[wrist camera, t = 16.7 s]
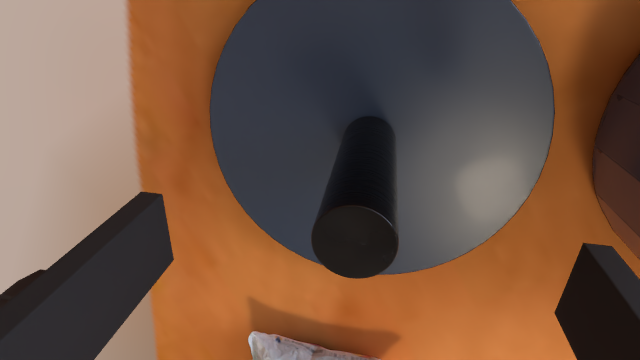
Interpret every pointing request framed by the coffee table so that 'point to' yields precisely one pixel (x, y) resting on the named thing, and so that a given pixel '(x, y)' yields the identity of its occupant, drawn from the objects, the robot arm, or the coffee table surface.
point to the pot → (621, 159)
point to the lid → (381, 126)
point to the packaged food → (294, 349)
